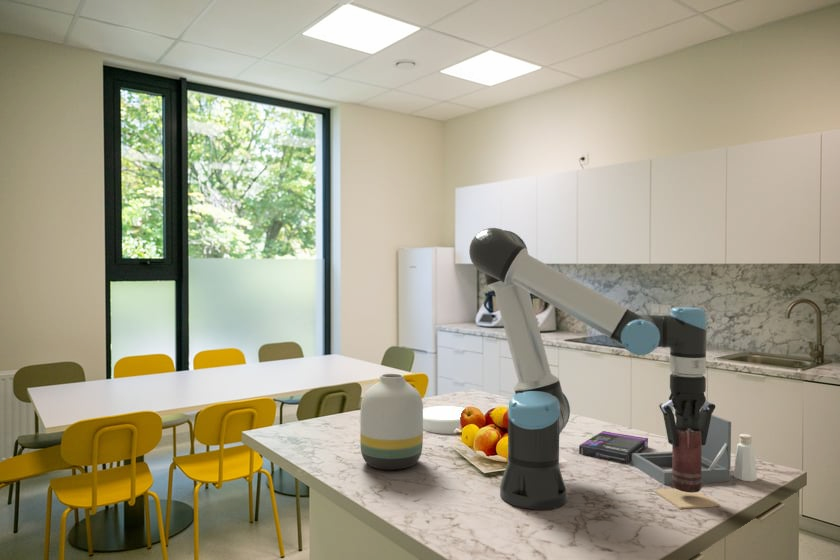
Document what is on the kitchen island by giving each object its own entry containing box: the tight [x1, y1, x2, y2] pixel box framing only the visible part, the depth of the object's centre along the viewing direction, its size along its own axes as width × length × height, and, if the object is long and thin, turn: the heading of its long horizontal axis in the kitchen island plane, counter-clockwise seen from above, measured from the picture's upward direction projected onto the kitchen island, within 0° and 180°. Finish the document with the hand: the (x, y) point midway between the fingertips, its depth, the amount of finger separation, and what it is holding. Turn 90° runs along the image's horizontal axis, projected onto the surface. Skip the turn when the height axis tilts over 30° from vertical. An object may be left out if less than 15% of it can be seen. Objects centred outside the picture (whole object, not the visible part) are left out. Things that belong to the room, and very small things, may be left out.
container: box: [423, 405, 465, 435], centre depth 192 cm, size 20×20×5 cm
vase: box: [359, 373, 424, 471], centre depth 152 cm, size 17×17×24 cm
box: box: [578, 430, 649, 465], centre depth 166 cm, size 14×4×20 cm
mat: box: [653, 488, 721, 510], centre depth 130 cm, size 10×10×1 cm
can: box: [671, 428, 702, 493], centre depth 130 cm, size 6×6×14 cm
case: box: [631, 414, 732, 486], centre depth 147 cm, size 18×15×15 cm
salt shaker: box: [732, 433, 758, 482], centre depth 144 cm, size 5×5×11 cm
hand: (686, 475), depth 130 cm, fingers closed
